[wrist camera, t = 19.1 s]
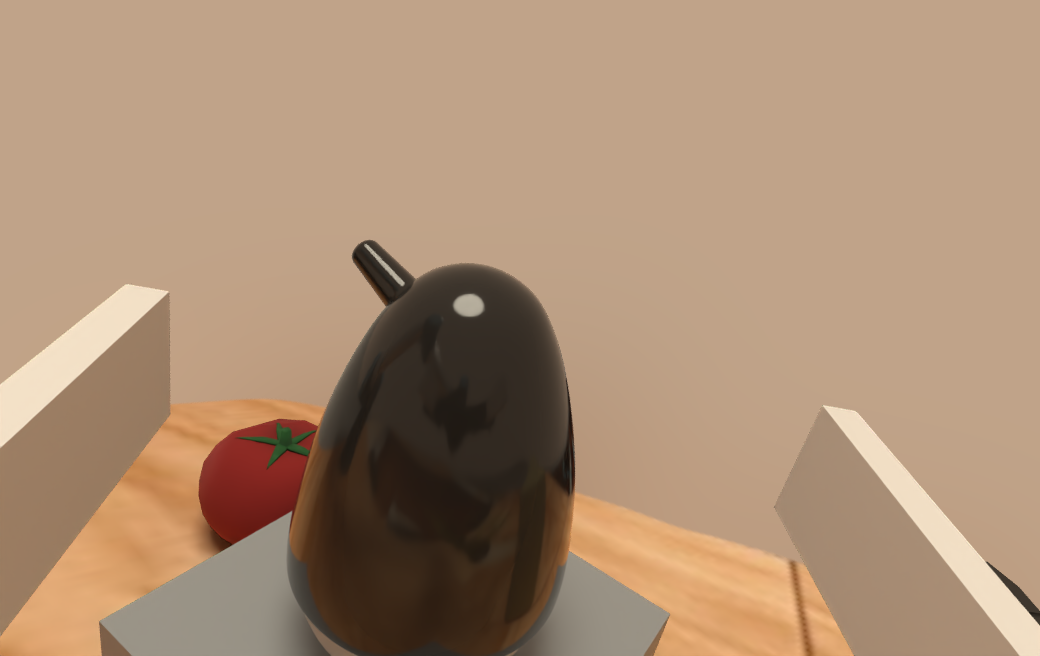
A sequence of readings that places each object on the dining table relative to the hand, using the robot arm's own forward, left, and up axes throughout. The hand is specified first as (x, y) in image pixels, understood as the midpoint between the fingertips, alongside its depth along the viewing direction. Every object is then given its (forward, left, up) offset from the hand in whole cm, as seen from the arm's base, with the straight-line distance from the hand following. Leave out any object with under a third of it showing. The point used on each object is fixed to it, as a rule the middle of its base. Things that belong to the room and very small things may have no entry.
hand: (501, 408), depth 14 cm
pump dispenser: (-5, +6, -16) cm, 17 cm away
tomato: (-19, +11, -24) cm, 33 cm away
